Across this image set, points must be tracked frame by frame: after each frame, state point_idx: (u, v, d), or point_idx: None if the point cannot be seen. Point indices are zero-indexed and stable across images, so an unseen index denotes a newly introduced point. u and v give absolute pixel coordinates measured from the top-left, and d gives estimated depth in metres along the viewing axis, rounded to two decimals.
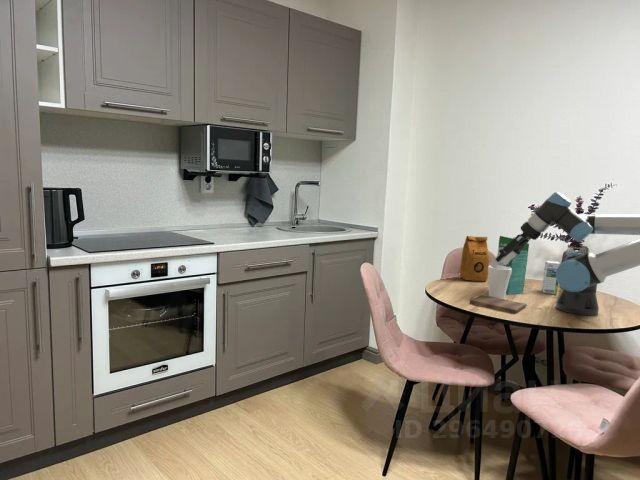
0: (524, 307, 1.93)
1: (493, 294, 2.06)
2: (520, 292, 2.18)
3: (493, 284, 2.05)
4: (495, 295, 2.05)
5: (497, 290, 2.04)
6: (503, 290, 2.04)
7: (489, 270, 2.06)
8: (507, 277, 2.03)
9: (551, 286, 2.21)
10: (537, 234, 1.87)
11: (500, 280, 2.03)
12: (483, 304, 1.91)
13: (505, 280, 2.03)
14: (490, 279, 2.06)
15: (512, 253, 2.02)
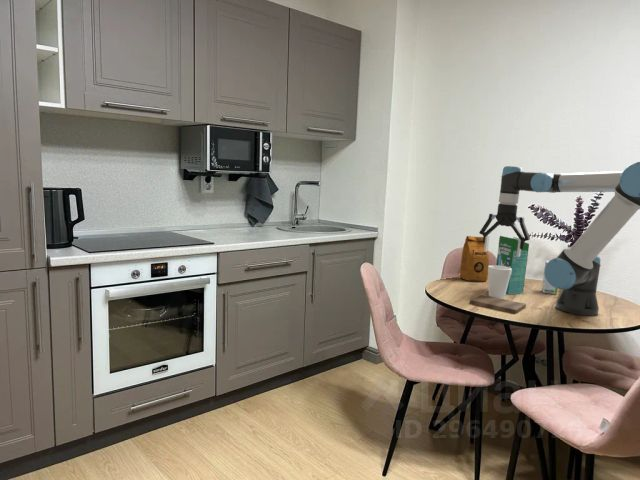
0: (524, 307, 1.93)
1: (493, 294, 2.06)
2: (520, 292, 2.18)
3: (493, 284, 2.05)
4: (495, 295, 2.05)
5: (497, 290, 2.04)
6: (503, 290, 2.04)
7: (489, 270, 2.06)
8: (507, 277, 2.03)
9: (551, 286, 2.21)
10: (500, 206, 2.01)
11: (500, 280, 2.03)
12: (483, 304, 1.91)
13: (505, 280, 2.03)
14: (490, 279, 2.06)
15: None
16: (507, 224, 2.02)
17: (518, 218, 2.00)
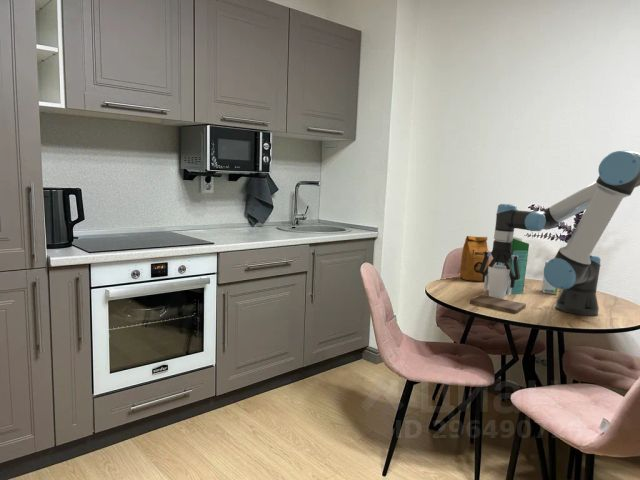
0: (524, 307, 1.93)
1: (493, 294, 2.06)
2: (520, 292, 2.18)
3: (493, 284, 2.05)
4: (495, 295, 2.05)
5: (497, 290, 2.04)
6: (503, 290, 2.04)
7: (489, 270, 2.06)
8: (507, 277, 2.03)
9: (551, 286, 2.21)
10: (495, 243, 2.04)
11: (500, 280, 2.03)
12: (483, 304, 1.91)
13: (505, 280, 2.03)
14: (490, 279, 2.06)
15: None
16: (502, 261, 2.04)
17: (513, 256, 2.02)
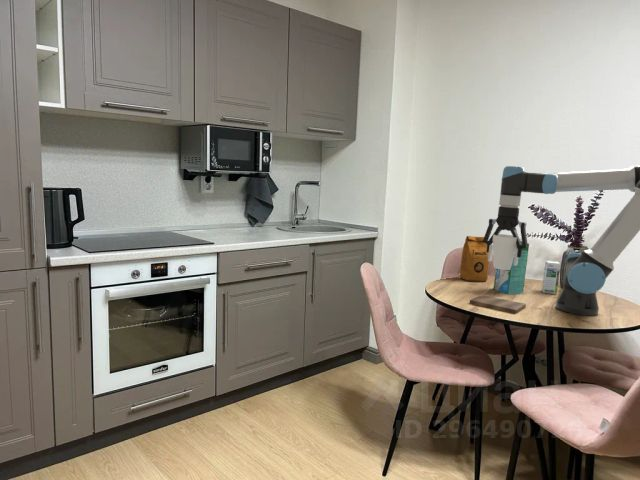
0: (524, 307, 1.93)
1: (498, 264, 1.90)
2: (520, 292, 2.18)
3: (498, 253, 1.89)
4: (500, 265, 1.89)
5: (503, 260, 1.88)
6: (509, 260, 1.88)
7: (494, 238, 1.90)
8: (513, 246, 1.87)
9: (551, 286, 2.21)
10: (501, 209, 1.88)
11: (506, 249, 1.87)
12: (483, 304, 1.91)
13: (511, 249, 1.87)
14: (495, 248, 1.90)
15: None
16: (508, 228, 1.88)
17: (520, 223, 1.86)
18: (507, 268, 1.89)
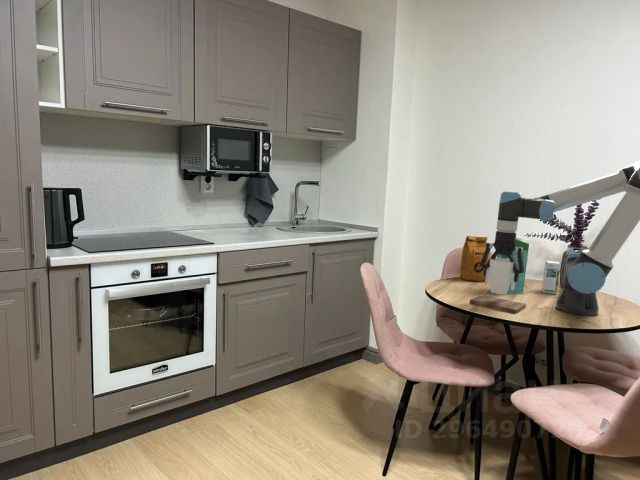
0: (524, 307, 1.93)
1: (495, 289, 1.91)
2: (520, 292, 2.18)
3: (495, 278, 1.90)
4: (497, 290, 1.90)
5: (500, 285, 1.90)
6: (506, 284, 1.90)
7: (491, 263, 1.91)
8: (510, 270, 1.88)
9: (551, 286, 2.21)
10: (498, 233, 1.89)
11: (503, 274, 1.88)
12: (483, 304, 1.91)
13: (508, 274, 1.88)
14: (492, 272, 1.91)
15: None
16: (505, 253, 1.90)
17: (517, 248, 1.87)
18: (504, 292, 1.91)
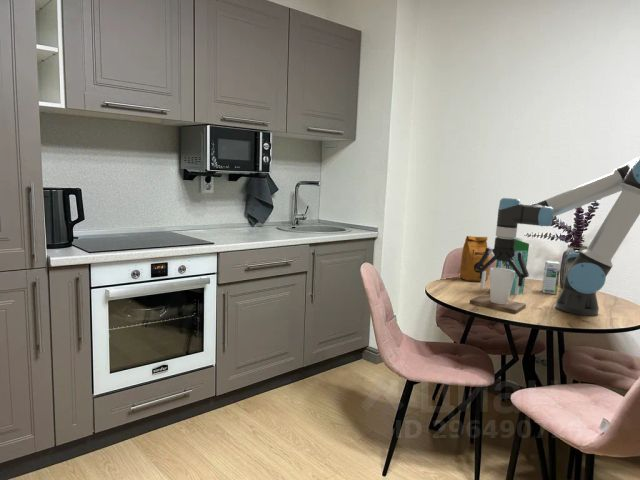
0: (524, 307, 1.93)
1: (495, 299, 1.91)
2: (520, 292, 2.18)
3: (495, 288, 1.90)
4: (497, 300, 1.91)
5: (500, 295, 1.90)
6: (506, 294, 1.90)
7: (491, 273, 1.91)
8: (510, 280, 1.89)
9: (551, 286, 2.21)
10: (497, 240, 1.89)
11: (503, 284, 1.89)
12: (483, 304, 1.91)
13: (508, 284, 1.89)
14: (492, 282, 1.91)
15: None
16: (505, 259, 1.90)
17: (516, 253, 1.88)
18: (504, 302, 1.91)
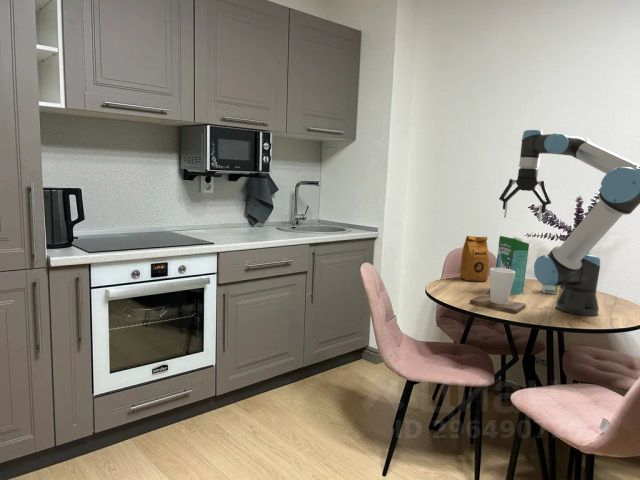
0: (524, 307, 1.93)
1: (495, 299, 1.91)
2: (520, 292, 2.18)
3: (495, 288, 1.90)
4: (497, 300, 1.91)
5: (500, 295, 1.90)
6: (506, 294, 1.90)
7: (491, 273, 1.91)
8: (510, 280, 1.89)
9: (551, 286, 2.21)
10: (521, 170, 2.01)
11: (503, 284, 1.89)
12: (483, 304, 1.91)
13: (508, 284, 1.89)
14: (492, 283, 1.91)
15: (540, 206, 2.00)
16: (528, 188, 2.02)
17: (539, 182, 1.99)
18: (504, 302, 1.91)
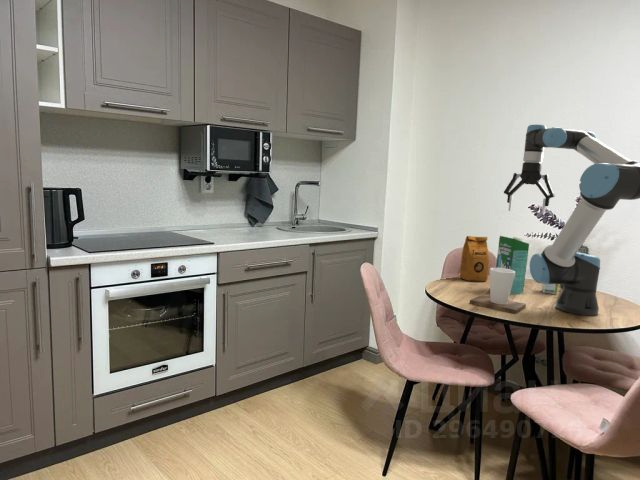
0: (524, 307, 1.93)
1: (495, 299, 1.91)
2: (520, 292, 2.18)
3: (495, 288, 1.90)
4: (497, 300, 1.91)
5: (500, 295, 1.90)
6: (506, 294, 1.90)
7: (491, 273, 1.91)
8: (510, 281, 1.89)
9: (551, 286, 2.21)
10: (525, 164, 2.05)
11: (503, 284, 1.89)
12: (483, 304, 1.91)
13: (508, 284, 1.89)
14: (492, 283, 1.91)
15: None
16: (532, 182, 2.05)
17: (543, 176, 2.03)
18: (504, 302, 1.91)
